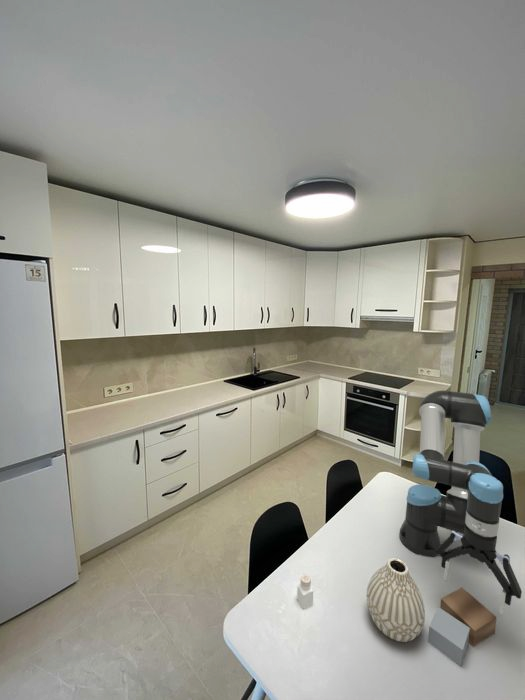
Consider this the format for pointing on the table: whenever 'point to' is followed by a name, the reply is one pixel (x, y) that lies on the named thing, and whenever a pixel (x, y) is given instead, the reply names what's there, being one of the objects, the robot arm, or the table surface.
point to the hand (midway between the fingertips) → (472, 593)
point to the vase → (395, 602)
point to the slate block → (449, 635)
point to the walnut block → (470, 615)
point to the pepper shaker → (305, 592)
